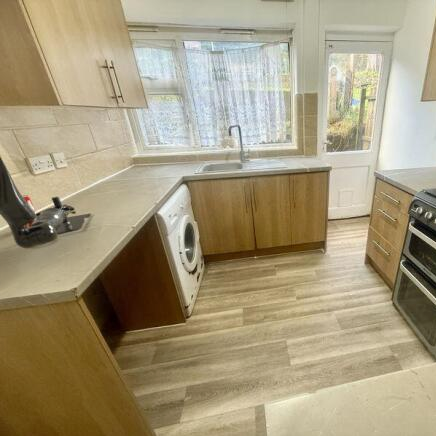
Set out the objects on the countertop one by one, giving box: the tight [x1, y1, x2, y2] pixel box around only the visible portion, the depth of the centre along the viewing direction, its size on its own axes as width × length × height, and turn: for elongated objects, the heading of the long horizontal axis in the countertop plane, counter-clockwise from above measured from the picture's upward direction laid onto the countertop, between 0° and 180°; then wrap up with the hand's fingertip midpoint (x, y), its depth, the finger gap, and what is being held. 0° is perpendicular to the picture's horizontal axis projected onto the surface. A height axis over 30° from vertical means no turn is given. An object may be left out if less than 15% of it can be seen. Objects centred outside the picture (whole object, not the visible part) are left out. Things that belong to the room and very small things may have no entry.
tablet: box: [57, 213, 92, 235], centre depth 115 cm, size 15×22×1 cm
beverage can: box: [21, 194, 37, 228], centre depth 112 cm, size 6×6×15 cm
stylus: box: [51, 196, 70, 225], centre depth 111 cm, size 2×2×13 cm
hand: (61, 207), depth 113 cm, fingers closed on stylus, 2 cm apart
